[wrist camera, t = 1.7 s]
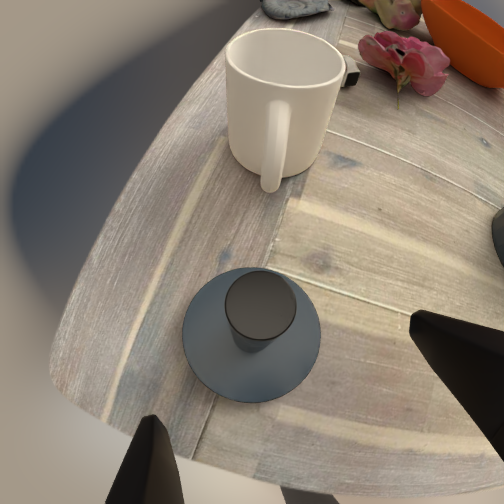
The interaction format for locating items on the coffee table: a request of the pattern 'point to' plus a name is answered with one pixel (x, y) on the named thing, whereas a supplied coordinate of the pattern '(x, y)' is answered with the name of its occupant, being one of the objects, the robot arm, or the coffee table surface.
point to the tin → (499, 234)
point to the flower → (406, 61)
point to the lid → (251, 335)
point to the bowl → (467, 40)
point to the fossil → (294, 8)
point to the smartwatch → (350, 72)
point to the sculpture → (396, 12)
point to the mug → (280, 100)
